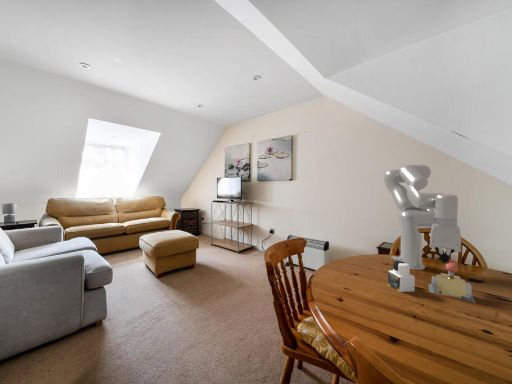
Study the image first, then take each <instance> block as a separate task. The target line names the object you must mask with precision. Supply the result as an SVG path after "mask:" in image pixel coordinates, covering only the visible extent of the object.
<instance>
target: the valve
mask: <svg viewBox="0 0 512 384" xmlns="http://www.w3.org/2000/svg"><path fill="white" fill-rule="evenodd" d="M431 284H432V287H433V292H437V293H440V291H441V293H442V294H443V295H442V296H445V295H447V296H446V297H449V296H452V297H451V298H453V297H456V298H455V299H458V298H460V299H459V300H462V299H461V297H463V299H468V300H470V295H471V294H472V292H473V291H472V290H473V289H472V288H473V286H472V285H471V283H470V282H466V281H465V279H462V278H461V277H460V276H458V275H455V272H452V271H448V270H447V273H443V272H440V274H436V276H434V275H432V276H431ZM472 295H473V294H472Z"/></svg>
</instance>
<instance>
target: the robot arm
mask: <svg viewBox="0 0 512 384" xmlns="http://www.w3.org/2000/svg"><path fill="white" fill-rule="evenodd" d="M431 171H432V170H431V168H430V167H429V166H428V165H426V164H407V165H404V166H402V167H400V168H399V169H397V168H396V169H390V170H388V171H386V172H384V176H383V178H384V179H383V180H384V184H385V187H386V189H387V190H388V191H389V193H390V194H391V195H392V199H393V200H394V203H395V204H394V205H396V208H397V209H398V210H399V211H401V212H400V213H399V215H398V219H399V220H398V221H399V226H400V254H399V256H396V255H391V256H390V257H391V260H393V261H403V262H406V263H408V264H409V265H410V270H418V271H423V270H425V268H426V266H425V265H424V264H423V263H422V251H423V250H422V247H423V246H422V243H423V241H422V239H423V238H422V234H421V232H420V231H419V230H418V229H430V236H429V237H430V238H429V245H428V247H429V248H431V249H433V250H436V251H437V253H439V261H441V263H442V264H444V265H446V264H448V263H449V259H450V255H451V254H453V253H461V252H462V248H461V247H462V234H461V228H460V226H459V225H458V210H459V197H458V196H457V195H455V194H446V193H445V192H420V191H421V190H423V189H425V188H426V187H427V186H428V184H429V180H428V178H430V176H431V174H432V172H431ZM401 183H402V184H401ZM404 183H406V184H407V186H408V187H407V188H406V187H405V186H404V185H403V184H404ZM443 249H445V252H444V250H443ZM447 262H448V263H447Z"/></svg>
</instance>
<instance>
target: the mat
mask: <svg viewBox="0 0 512 384" xmlns="http://www.w3.org/2000/svg"><path fill="white" fill-rule="evenodd" d="M428 290H429V293H433V294H437V295H442V296H445V297H449V298H454V299H459V300H462V301H467V302H471V303H476V301H475V298H474V297H473V294H471V295H470V300H468V299H463V297H461V299H460V298H456V297H452V296H447V295H443V294H442V293H441V291H440V293H437V292H433V287H432V283H428Z"/></svg>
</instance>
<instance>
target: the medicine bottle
mask: <svg viewBox="0 0 512 384" xmlns="http://www.w3.org/2000/svg"><path fill="white" fill-rule="evenodd" d="M410 270H411V269H410V265H409V264H408V263H406V262H403V261H397V260H394V261H393V262H392V269H391V270H388V272H387V273H388V274H387V286H388V287H391V288H393V289H395V290H396V291H397V292H399V293H404V292H406V293H407V292H415V288H416V287H415V286H416V285H415V282H416V281H415V280H416V278H415V277H416V276H415V275H413V274H411V273H410Z"/></svg>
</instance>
